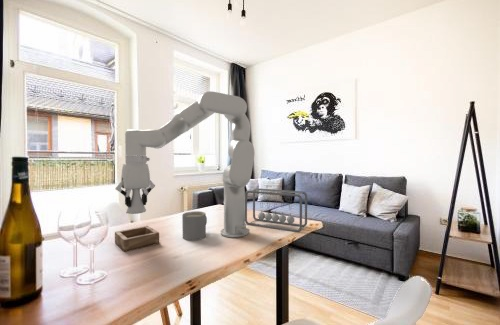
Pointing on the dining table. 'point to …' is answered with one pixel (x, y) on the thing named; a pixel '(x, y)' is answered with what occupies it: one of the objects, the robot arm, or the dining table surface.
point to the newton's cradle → (275, 217)
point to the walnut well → (136, 238)
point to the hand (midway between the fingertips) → (136, 205)
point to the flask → (136, 203)
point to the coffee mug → (194, 225)
